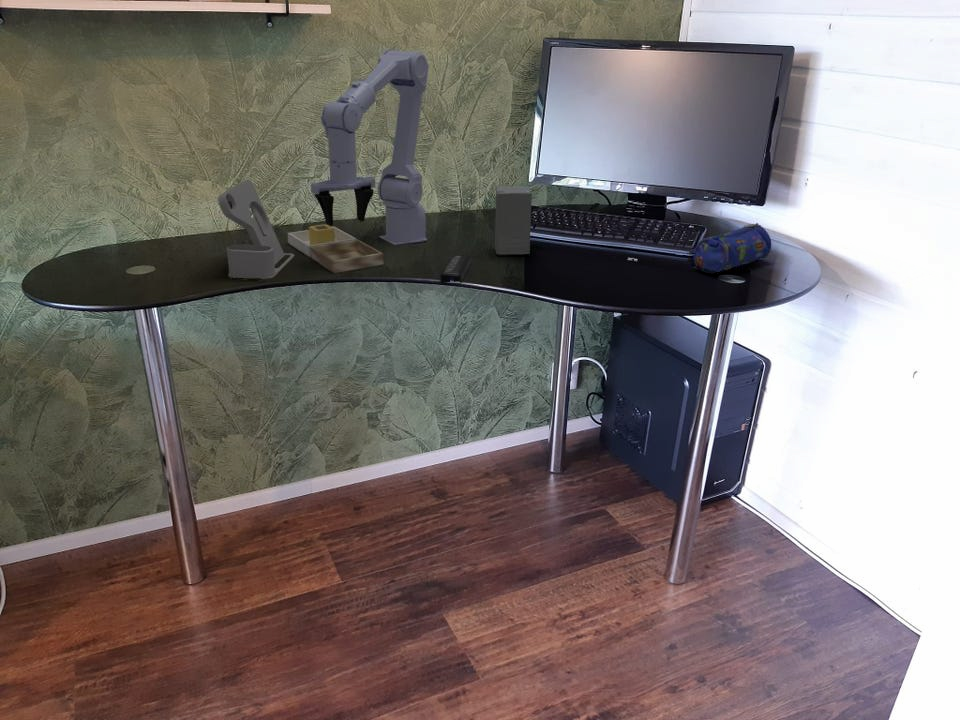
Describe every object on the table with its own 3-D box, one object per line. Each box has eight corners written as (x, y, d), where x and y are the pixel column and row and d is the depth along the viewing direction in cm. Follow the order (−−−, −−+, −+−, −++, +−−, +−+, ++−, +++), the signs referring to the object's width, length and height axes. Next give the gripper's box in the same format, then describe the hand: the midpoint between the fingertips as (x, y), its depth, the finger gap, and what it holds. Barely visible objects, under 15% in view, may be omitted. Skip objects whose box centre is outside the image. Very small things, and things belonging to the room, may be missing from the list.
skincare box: (527, 249, 190) (531, 184, 183) (529, 258, 183) (534, 191, 177) (493, 248, 190) (495, 183, 183) (494, 257, 183) (497, 190, 176)
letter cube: (327, 242, 188) (326, 223, 186) (335, 247, 184) (334, 228, 182) (309, 244, 185) (308, 226, 183) (317, 249, 182) (316, 231, 180)
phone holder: (271, 281, 163) (264, 197, 155) (224, 278, 164) (215, 194, 156) (296, 256, 179) (290, 178, 171) (253, 254, 179) (245, 176, 172)
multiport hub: (471, 265, 179) (471, 255, 178) (460, 286, 166) (460, 275, 165) (452, 263, 179) (452, 254, 178) (439, 284, 166) (440, 274, 165)
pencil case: (740, 254, 193) (747, 216, 188) (771, 263, 187) (779, 224, 183) (688, 271, 179) (694, 231, 175) (720, 281, 173) (728, 240, 169)
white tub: (334, 238, 193) (334, 226, 192) (357, 251, 184) (356, 238, 183) (288, 245, 186) (287, 233, 185) (309, 258, 177) (308, 246, 176)
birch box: (358, 251, 183) (358, 239, 182) (383, 266, 174) (383, 253, 173) (310, 259, 177) (310, 247, 176) (334, 275, 168) (333, 261, 167)
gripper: (319, 167, 159) (322, 231, 165) (381, 161, 167) (382, 222, 173) (305, 161, 164) (309, 223, 170) (366, 155, 172) (368, 215, 178)
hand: (345, 222), depth 172 cm, fingers open, 7 cm apart
